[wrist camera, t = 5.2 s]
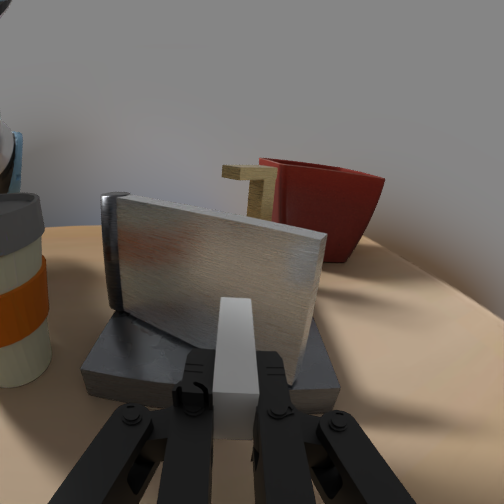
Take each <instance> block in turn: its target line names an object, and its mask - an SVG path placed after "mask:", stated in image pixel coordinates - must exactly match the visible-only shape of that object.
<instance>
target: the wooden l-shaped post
mask: <svg viewBox="0 0 504 504" xmlns="http://www.w3.org/2000/svg"><path fill="white" fill-rule="evenodd" d="M277 170H278V168H277V167H270V166H263V165H223V167H222V177H224V178H229V179H235V180H250V184H249V196H248V207H247V217H252V218H257V219H261V220H266V221H271V220H272V210H273V201H274V191H275V181H276V179H277Z"/></svg>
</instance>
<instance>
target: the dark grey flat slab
mask: <svg viewBox="0 0 504 504" xmlns="http://www.w3.org/2000/svg"><path fill="white" fill-rule="evenodd" d="M193 348H198V347H196V346H194V345H192V344H190V343H187V342H185V341H183V340H181V339H179V338H177V337H175V336H173V335H171V334H169V333H167V332H165V331H163V330H161V329H159V328H157V327H155V326H153V325H151V324H149V323H147V322H145V321H143V320H141V319H139V318H137V317H135V316H133V315H131V314H130V313H128V312H126V311H124V310H123V311H119V310H116V311H115V312H114V314H113V316H112V317H111V319H110V320H109V322H108V323H107V325H106V327H105V328H104V330H103V331H102V333H101V335H100V336H99V338H98V340H97V341H96V343H95V345H94V346H93V348H92V350H91V351H90V353H89V355H88V356H87V358H86V360H85V361H84V363H83V365H82V367H81V368H80V370H81V373H82V376H83V379H84V382H85V385H86V388H87V391H88V394H89V395H92V396H96V397H101V398H106V399H110V400H116V401H121V402H126V403H137V404H141V405H144V406H151V407H158V408H168V407H170V406H172V405H173V398H172V389H173V387H174V385H176V384H177V383H178V382H180V381H182V378H183V373H184V368H185V363H186V358H187V355H188V353H189V352H190V351H191V350H192V349H193ZM340 388H341V387H340V385H339V382H338V379H337V377H336V374H335V372H334V369H333V366H332V364H331V361H330V359H329V356H328V354H327V351H326V349H325V346H324V343H323V341H322V338H321V336H320V333H319V331H318V328H317V326H316V323H315V321H314V318H313V316H312V321H311V325H310V330H309V335H308V339H307V344H306V348H305V352H304V357H303V361H302V365H301V369H300V373H299V375H298V377H297V378H296V380H295V381H294V383H293V385H289V384H288V389H289V394H290V399H291V402H292V404H293V405H294V406H295V407H296V409H298V410H299V411H301V412H302V413H305V414H317V413H326V412H329V411H332V409H333V407H334V404H335V402H336V399H337V396H338V394H339V391H340Z"/></svg>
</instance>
